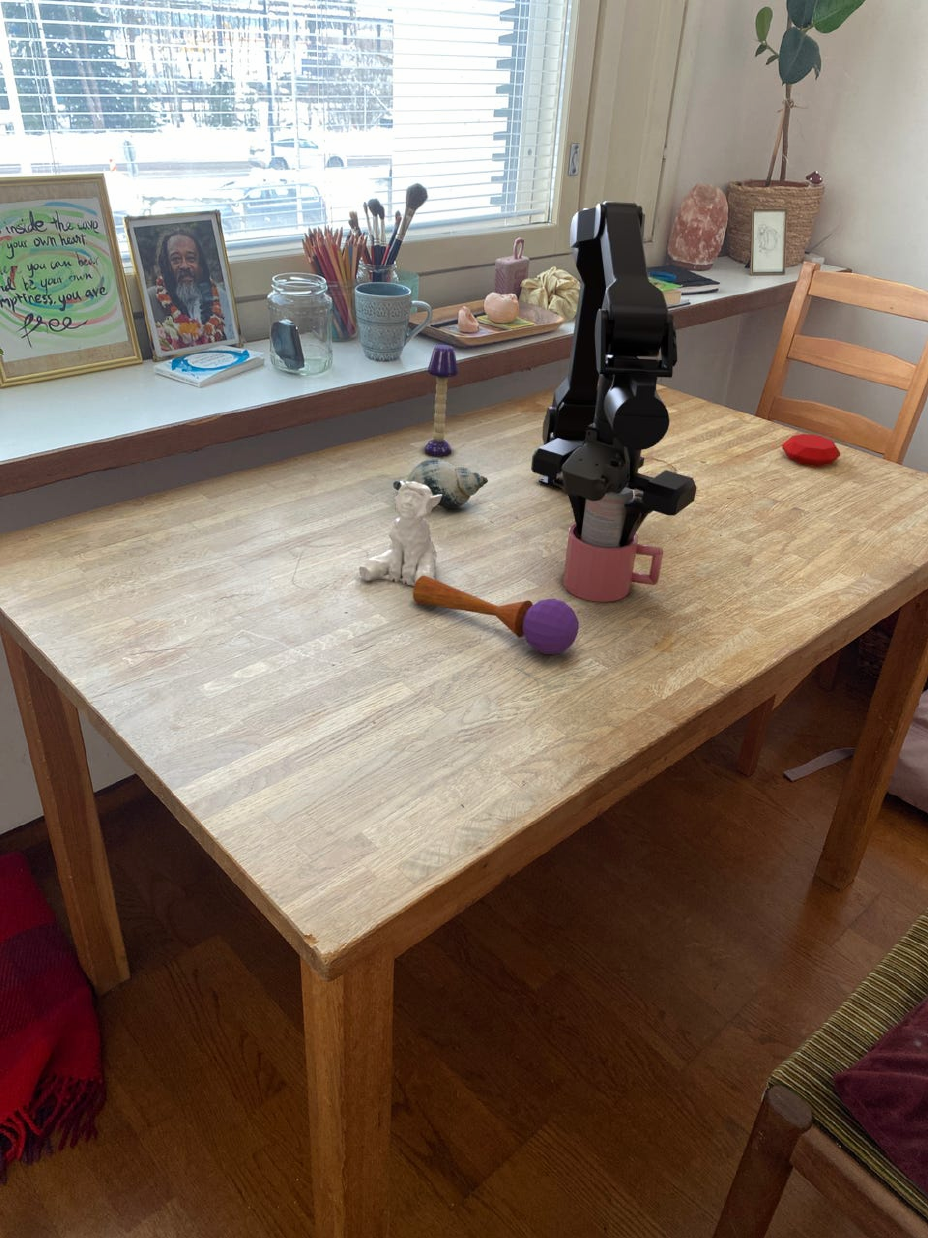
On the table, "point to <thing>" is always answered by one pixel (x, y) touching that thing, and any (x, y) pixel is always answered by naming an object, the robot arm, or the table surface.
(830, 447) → the gemstone
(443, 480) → the seashell
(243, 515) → the table surface
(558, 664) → the table surface
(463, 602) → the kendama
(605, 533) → the energy drink
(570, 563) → the mug
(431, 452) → the toy lamp
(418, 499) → the seated beast figurine
